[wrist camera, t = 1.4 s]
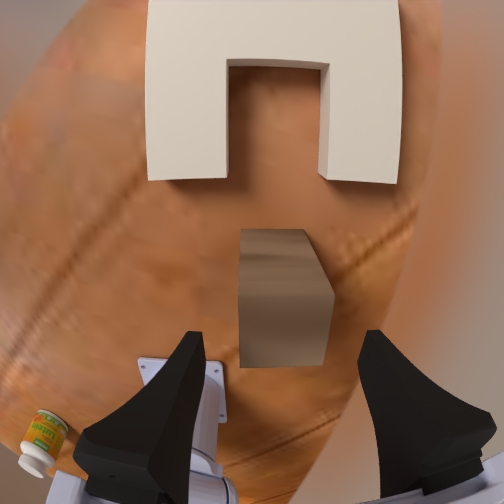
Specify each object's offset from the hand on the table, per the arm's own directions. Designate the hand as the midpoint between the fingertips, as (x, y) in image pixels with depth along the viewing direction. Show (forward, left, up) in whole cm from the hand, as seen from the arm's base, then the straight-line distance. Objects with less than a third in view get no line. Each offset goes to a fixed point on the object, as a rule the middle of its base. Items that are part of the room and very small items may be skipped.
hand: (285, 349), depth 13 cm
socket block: (+13, 0, -11) cm, 17 cm away
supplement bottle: (-26, +30, -11) cm, 41 cm away
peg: (0, 0, -11) cm, 11 cm away
